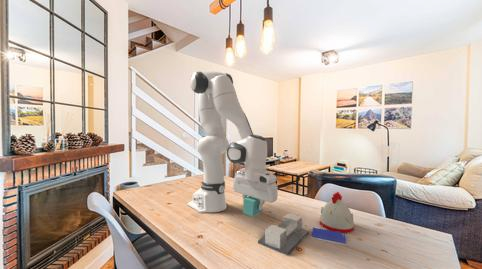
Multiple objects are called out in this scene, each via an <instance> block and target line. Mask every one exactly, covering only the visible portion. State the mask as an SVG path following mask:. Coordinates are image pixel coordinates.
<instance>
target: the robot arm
mask: <svg viewBox="0 0 482 269" xmlns="http://www.w3.org/2000/svg"><path fill="white" fill-rule="evenodd" d="M234 86H235V85H234V79H233V77H232V75H231V74H229V73H227V72H220V71H196V72H193V73H192V74H191V77H190V88H191V89H192V90H191V91H193V92H194V93H196V94H198V99H197V101H198V102H197V103H198V104H197V105H198V107H197V108H198V114H199V115H198V116H199V120H200V121H199V122H200V126H201V128H202V129H203V131H204V134H205V136H203V137H202V138H201V139H200V140H199V141H198V142H197V145H196V146H197V147H196V148H197V152H198V154H199V155H200V157H201V162H202V165H203V166H202V167H203V181H200V182H199V184H200V185H201V186H200V188H198V190H196V191H195V192H193V194H192V197H191V198H192V199H191V200H190V201H189V202H188V203H187V206H189V207H190V208H192V209H193V210H195V211H196V212H199V213H201V214H202V213H203V214H204V213H218V212H222V211H223V212H224V211H225V210H227V208H228V207H227V201H226V192H225V189H226V181H225V165H224V164H223V159H222V155H223V154H225V153H226V158H227V159H228V161H229V162H230V163H231V164H232V163H233V164H237V165H238V164H244V171H241V170H238V171H236V172H235V173H234V179H233V188H232V190H233V192H235V193H238V194H241V195H242V199H243V200H244V198H246V197H249V196H250V197H253V198H257V199H260V202H261V203H260V204H259V205H257V209H258V210H262V211H263V206H262V205H264V204H265V203H266V202H267V203H270V204H273V203H275V202H276V201H278V195H279V193H278V190H279V189H278V184H277V183H276V182H277V181H278V180H277V179H278V176H276V175H275V174H273V173H271V172H270V171H268V170H267V165H266V162H267V159H268V142H267V139H266V138H265V137H263V136H261V135H257V134H254V132H253V129H252V128H251V125H250V122H249V119H248V117H247V115H246V113H245V112H244V110H243V108H242V106H241V103H240V101H239V99H238V98H239V97H238V94H237V91H236V89H235V87H234ZM222 118H224V119H226V120H228V121H230V122H231V123H232V124H234V126H236V129H237V131H238V134H239V136H240V140H237V141H234V142H233V141H232V142H230V143H229V140H228V138H227V136H226V131H225V130H224V127H223V122H222Z"/></svg>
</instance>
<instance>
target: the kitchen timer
mask: <svg viewBox="0 0 482 269" xmlns="http://www.w3.org/2000/svg"><path fill="white" fill-rule="evenodd" d="M342 199H343V196H342V194H341V193H340V192H339V191H337V192H335V193H333V196H332V197H331V200H329V201H328V202H327V203H326V204H325V205H324V207H323V206H322V207H321V208H320V218H319V225H320V226H321V227H322V228H324V229H325V230H330V231H335V232H341V233H345V234H350V233H353V232H354V230H355V224H354V223H355V222H354V214H353V213H352V212H351V210H350V209H349V207H348V205H347V204H346V203H345V202H344V201H342Z"/></svg>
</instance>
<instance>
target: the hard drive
mask: <svg viewBox="0 0 482 269" xmlns="http://www.w3.org/2000/svg"><path fill="white" fill-rule="evenodd" d="M310 238H311V239H315V240H319V241H324V242H329V243H332V244H338V245H342V246H347V236H346V233H341V232H335V231H330V230H327V229H325V228H324V229H323V228H318V227H312V231H311V236H310Z"/></svg>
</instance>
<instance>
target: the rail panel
mask: <svg viewBox="0 0 482 269" xmlns="http://www.w3.org/2000/svg"><path fill="white" fill-rule="evenodd" d="M302 227H303V216H301V215H296V214H293V213H287V214H285V215H284V216H283V222H280V223H279V225H274V224H271V225H270V226H268V227H266V228H265V230H264V231H265V232H264V235H263V236H262V237H260V238H259V239H258V240H257V243H258V244H259V245H261V246H264V247H266V248H269V249H270V250H274V251H276V252H278V253H280V254H283V255H286V256H289V255H290V254H291V253H292V252H293V251H294V249H296V247H297V246H298V245H299V244H300V243H301V242H302V241H303V240H304V239H305V238H306V236H308V235H309V234H310V230H308V229H304V228H302Z"/></svg>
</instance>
